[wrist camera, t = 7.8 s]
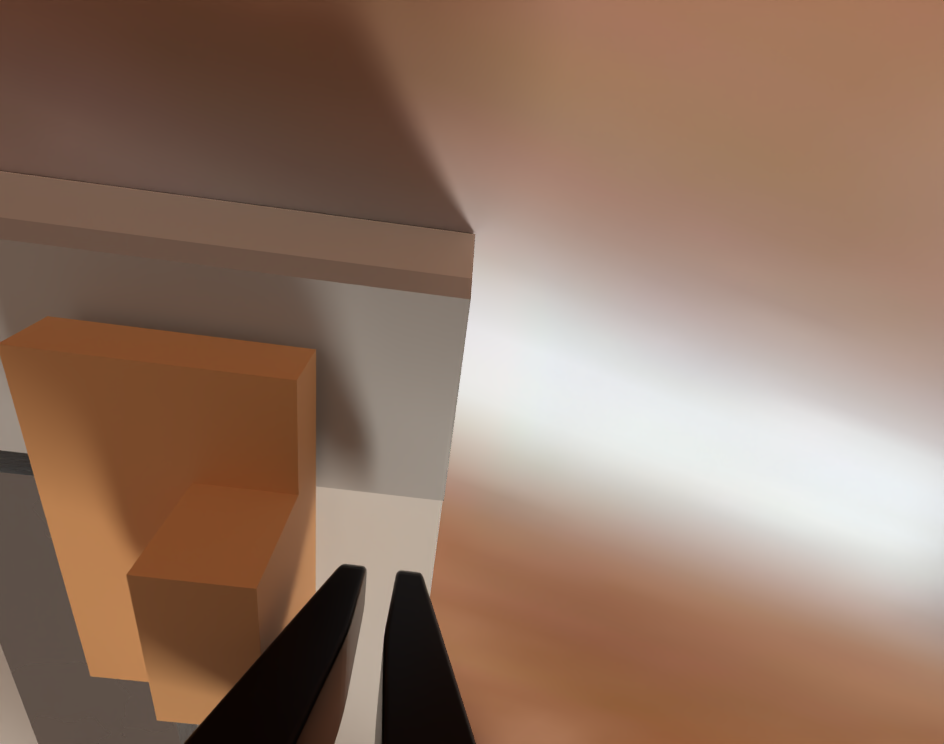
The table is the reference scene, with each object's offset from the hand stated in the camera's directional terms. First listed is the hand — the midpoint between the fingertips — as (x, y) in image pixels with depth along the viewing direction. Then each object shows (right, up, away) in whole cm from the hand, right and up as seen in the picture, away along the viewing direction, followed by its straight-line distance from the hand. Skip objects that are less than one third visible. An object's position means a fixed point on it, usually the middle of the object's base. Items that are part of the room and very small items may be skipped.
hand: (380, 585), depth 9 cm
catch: (-3, +1, +1) cm, 4 cm away
